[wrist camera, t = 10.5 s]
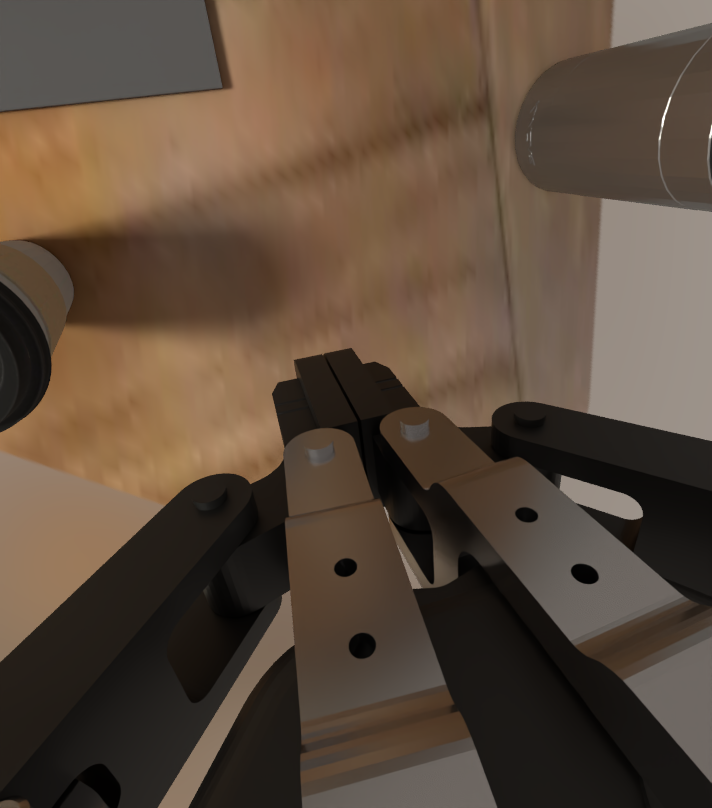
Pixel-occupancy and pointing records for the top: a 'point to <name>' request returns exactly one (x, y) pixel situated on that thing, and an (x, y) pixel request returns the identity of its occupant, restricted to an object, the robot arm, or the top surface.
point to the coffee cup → (29, 324)
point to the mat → (102, 51)
